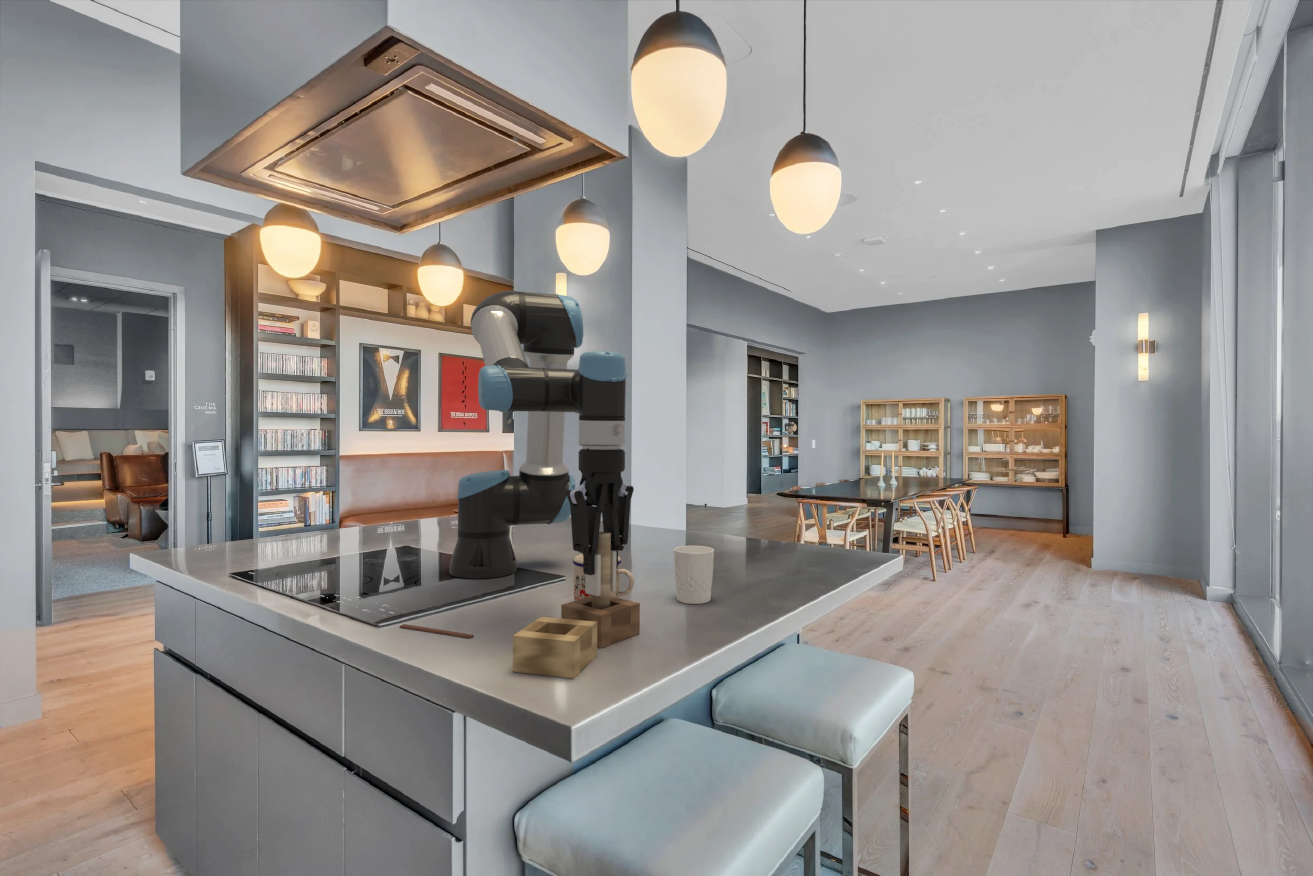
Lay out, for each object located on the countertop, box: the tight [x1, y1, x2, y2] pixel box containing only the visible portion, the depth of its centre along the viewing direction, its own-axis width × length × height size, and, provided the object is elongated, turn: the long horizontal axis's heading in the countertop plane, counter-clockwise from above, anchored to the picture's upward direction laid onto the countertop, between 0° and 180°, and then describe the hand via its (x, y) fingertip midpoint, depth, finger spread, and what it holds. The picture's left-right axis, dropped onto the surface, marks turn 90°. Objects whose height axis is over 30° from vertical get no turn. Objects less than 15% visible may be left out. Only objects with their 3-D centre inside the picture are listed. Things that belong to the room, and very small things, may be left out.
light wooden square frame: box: [512, 616, 598, 680], centre depth 89 cm, size 9×9×5 cm
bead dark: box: [560, 596, 641, 649], centre depth 102 cm, size 9×9×5 cm
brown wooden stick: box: [399, 623, 475, 639], centre depth 103 cm, size 14×1×1 cm, turn 69°
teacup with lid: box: [572, 553, 635, 601], centre depth 118 cm, size 12×9×12 cm
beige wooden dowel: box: [592, 531, 611, 610], centre depth 102 cm, size 3×3×16 cm
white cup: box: [673, 545, 715, 605], centre depth 123 cm, size 8×8×10 cm
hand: (600, 591), depth 102 cm, fingers closed on beige wooden dowel, 3 cm apart
